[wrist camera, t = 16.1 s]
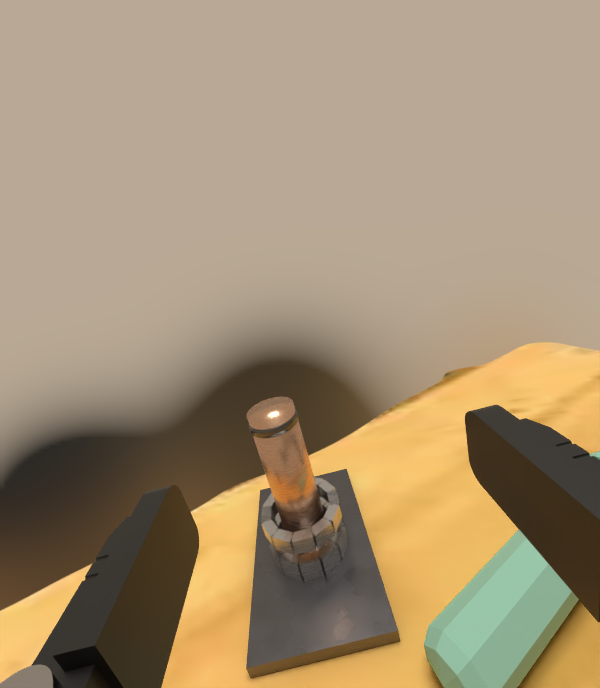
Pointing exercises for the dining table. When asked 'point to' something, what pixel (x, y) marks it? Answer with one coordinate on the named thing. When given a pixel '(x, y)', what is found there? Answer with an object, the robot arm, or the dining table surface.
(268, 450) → the metal tube
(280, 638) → the stove plate
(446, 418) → the dining table surface
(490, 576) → the container
